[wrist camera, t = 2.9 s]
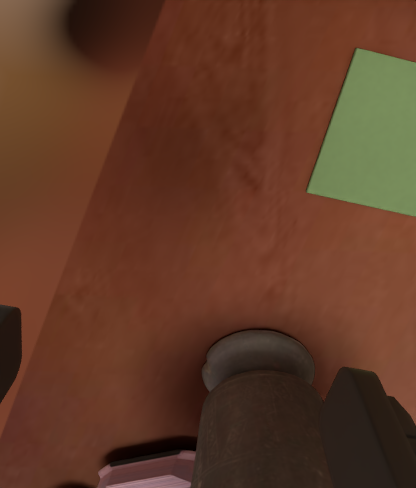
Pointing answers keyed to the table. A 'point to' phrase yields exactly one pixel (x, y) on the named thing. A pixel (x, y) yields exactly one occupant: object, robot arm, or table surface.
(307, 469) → the vase
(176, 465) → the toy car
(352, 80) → the felt mat
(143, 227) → the table surface
